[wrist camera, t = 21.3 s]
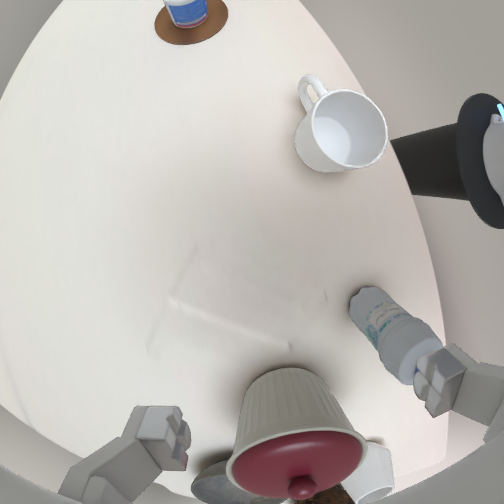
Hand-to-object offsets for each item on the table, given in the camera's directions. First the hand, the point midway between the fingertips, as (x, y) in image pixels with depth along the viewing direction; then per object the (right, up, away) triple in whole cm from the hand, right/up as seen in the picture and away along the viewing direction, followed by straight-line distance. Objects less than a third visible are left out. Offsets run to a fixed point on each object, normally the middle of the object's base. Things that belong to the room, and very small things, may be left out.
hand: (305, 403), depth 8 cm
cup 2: (+23, -42, +40) cm, 62 cm away
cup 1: (+7, +21, +26) cm, 34 cm away
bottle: (+15, -3, +31) cm, 35 cm away
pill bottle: (-11, +39, +21) cm, 45 cm away
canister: (+4, -19, +34) cm, 39 cm away
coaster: (-11, +39, +21) cm, 46 cm away
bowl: (-4, -44, +40) cm, 59 cm away
